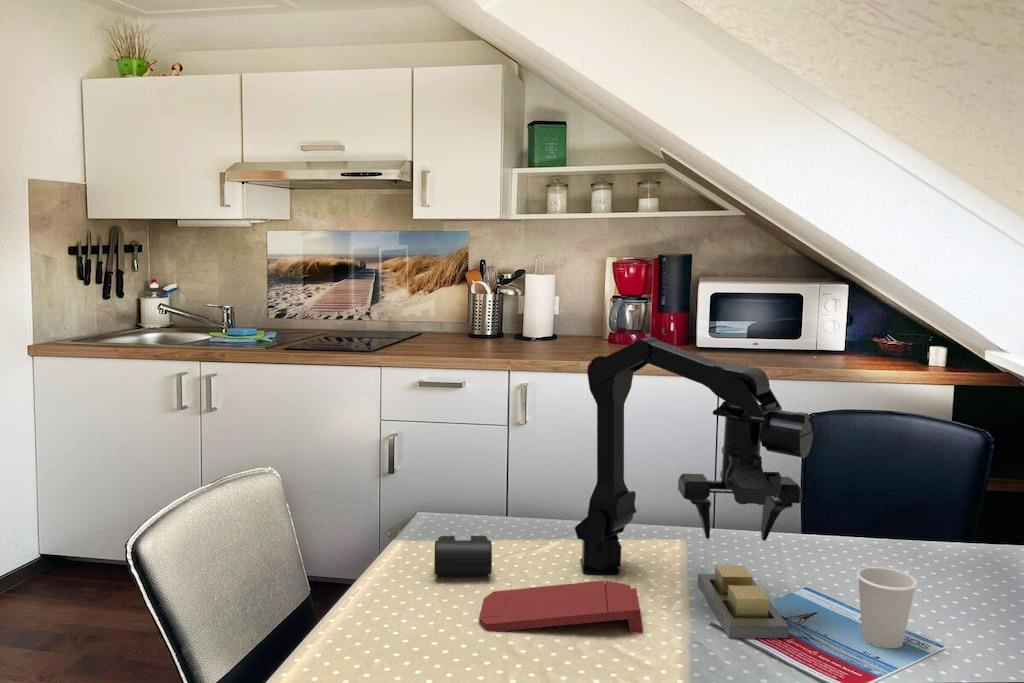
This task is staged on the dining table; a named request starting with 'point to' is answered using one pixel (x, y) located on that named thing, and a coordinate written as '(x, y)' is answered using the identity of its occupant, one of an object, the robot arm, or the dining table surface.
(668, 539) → the dining table surface
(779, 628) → the grey slotted tray
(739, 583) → the tan block seated
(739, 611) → the wooden cube
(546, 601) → the red ramp
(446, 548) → the end cap
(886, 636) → the dixie cup
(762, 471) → the robot arm
